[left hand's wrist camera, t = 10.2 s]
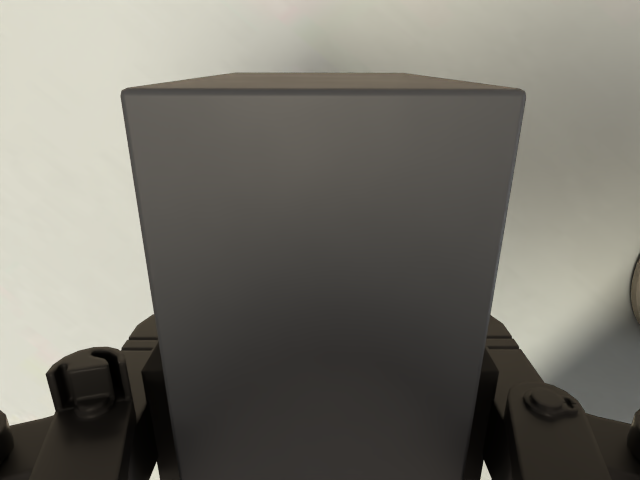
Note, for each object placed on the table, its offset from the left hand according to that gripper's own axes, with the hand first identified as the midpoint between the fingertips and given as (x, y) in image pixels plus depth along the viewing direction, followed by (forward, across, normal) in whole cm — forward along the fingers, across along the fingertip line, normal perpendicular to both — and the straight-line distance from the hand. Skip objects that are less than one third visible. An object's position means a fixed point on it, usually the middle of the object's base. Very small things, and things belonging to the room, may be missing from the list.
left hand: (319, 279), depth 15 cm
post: (+1, 0, -30) cm, 30 cm away
